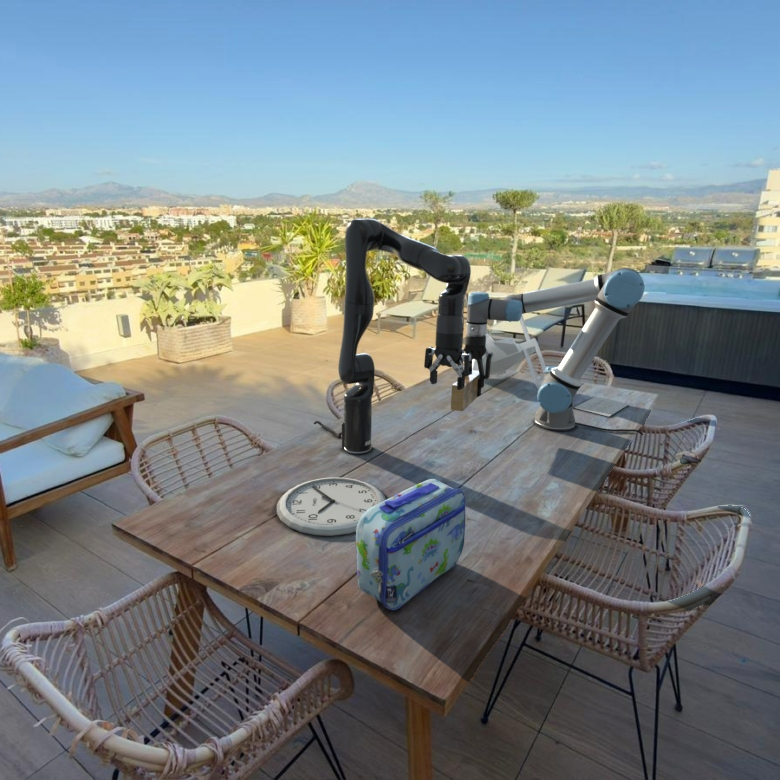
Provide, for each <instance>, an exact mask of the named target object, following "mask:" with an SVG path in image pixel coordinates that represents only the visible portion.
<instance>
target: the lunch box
mask: <svg viewBox="0 0 780 780" xmlns="http://www.w3.org/2000/svg"><path fill="white" fill-rule="evenodd" d="M465 532H466V495H465V492H464V491H463V490H462V489H461V488H453V487H451V486H449V485H447V484H445V483H443V482H442V481H440V480H437V479H435V478H430V479H426V480H424V481H422V482H420V483H417V484H415V485H413V486H411V487H409V488H407V489H405V490H403V491H401V492H399V493H397V494H395V495H393V496H391V497H389V498H386V500H385V501H383V502H381V503H379V504H377V505H375V506H373V507H371V508H369V509H368V510H366V511H365V512H364V513H363V515H362V516H361V518H360V520H359V522H358V525H357V529H356V532H355V551H356V579H357V580H356V581H357V585H358V588H359V590H360V591H361V592H363V593H365V594H366V595H369V596H371V597H372V598H374V599H375V600H376V601H378V602H380V603H381V604H382V606H383V607H384V608H386V609H388V610H391V611H397V610H399V609H401V608H402V607H403V606H405V604H406V603H407V602H409V601H410V600H412V598H414V597H415V596H417V594H419V593H421V592H422V591H423V590H425V588H426V587H428V586H430V585H431V584H432V583H433V582H434V581H435V580H436V579H438V578H439V577H440V576H442V575H444V574H446V572H448V571H450V570H451V569H452V568H453V567H454V566H455V565H456V564H457V563H458V561H459V559H460V558H461V555H462V552H463V549H464V546H465V545H464V544H465V536H466V535H465V534H466V533H465Z"/></svg>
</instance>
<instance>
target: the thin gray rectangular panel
mask: <svg viewBox="0 0 780 780" xmlns="http://www.w3.org/2000/svg"><path fill="white" fill-rule="evenodd" d="M628 406H629V404H627V403H623V402H618V401H614V400H609V399H605V398H601V397H596V396H593V397H592V398H590V399H588V400H586V401H584V402H582V403H580V404H578V405H575V406H574V407H573V409H575V410H581V411H584V412H587V413H593V414H596V415H600V416H604V417H608V418H609V417H611V416H613V415H614V414H616V413H617V412H619V411H621V410H623V409H624V408H626V407H628Z"/></svg>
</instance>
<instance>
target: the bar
mask: <svg viewBox="0 0 780 780" xmlns="http://www.w3.org/2000/svg"><path fill="white" fill-rule="evenodd" d="M479 379H480V375H479V371H475V370H472V374H471V375H469V376H465V386H464V387H463V389H461V390H457V381H455V382H454V383H453V384H452V385H451V397H450V410H451V411H457V412H464V411H465V410H467V408H468V407H469V406H470V405H471V404H472V403H473V402H474V401H475V400H476V399H478V398H479V396H477V389H478V380H479Z"/></svg>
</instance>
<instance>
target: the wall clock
mask: <svg viewBox="0 0 780 780" xmlns="http://www.w3.org/2000/svg"><path fill="white" fill-rule="evenodd" d="M385 500H387V498H386V496H385V494H384V493H383V492H382V491H381V490H380V489H379V488H377V487H376V486H374V485H372V484H371V483H369V482H365V481H362V480H359V479H355V478H349V477H338V476H337V477H335V476H333V477H332V476H331V477H322V478H317V479H312V480H307V481H305V482H302V483H299V484H297V485H295V486H293V487H292V488H290V489H288V490H287V491H286V492H285V493H284V494H283V495H281V496H280V498H279V499H278V502H277V503H276V515H277V517H278V518H279V520H280V521H281V522H282V523H283V524H285V525H286V526H287V527H288V528H290V529H293V530H295V531H297V532H299V533H303V534H308V535H312V536H327V537H328V536H329V537H331V536H332V537H333V536H342V535H350V534H352V533H356V529H357V525H358V522H359V520H360V518H361V516H362V515H363V513H364V512H365V511H366V510H368V509H369V508H371V507H373V506H375V505H377V504H379V503H381V502H383V501H385Z"/></svg>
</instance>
